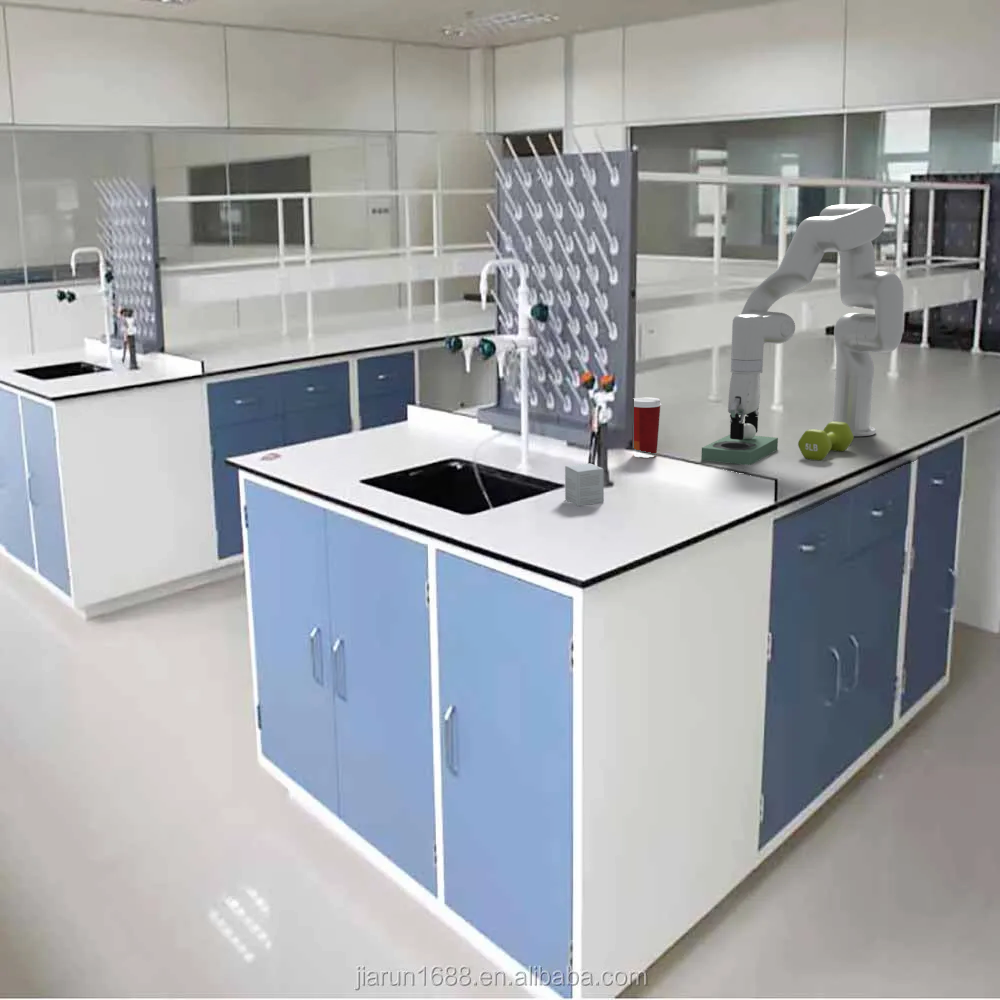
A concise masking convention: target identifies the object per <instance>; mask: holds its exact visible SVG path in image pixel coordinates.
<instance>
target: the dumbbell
mask: <svg viewBox="0 0 1000 1000" xmlns="http://www.w3.org/2000/svg"><path fill="white" fill-rule="evenodd" d="M854 439H855V436H853V433H852V431H851V429H850V427H849V425H848V424H847V423H844V422H837V421H833V420H832V421H829V422H828V423H827V424H826V426H825V427H824V429H815V428H814V429H812V428H811V429H807V430H805V431H804V432H803V434H802V435H801V437H800V438H799V440H798V443H797V444H798V445H797V446H798V448H799V450H800V452H801V455H802V457H803V458H805V459H806V460H810V459H811V461H822V460H824V459H825V458H826V457H827V455H828V454H829V453H830V451H832V452H833V451H834V452H845V451H846V450H848V449H849V447H850V445H851V444H852V442H853V440H854Z"/></svg>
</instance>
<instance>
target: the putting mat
mask: <svg viewBox="0 0 1000 1000" xmlns="http://www.w3.org/2000/svg"><path fill="white" fill-rule="evenodd" d="M778 444H779V438H778V437H773V436H760V435H755V436H754V437H753V438H752V439H748V440H747V439H744V438H743V439H742V440H736V439H731V438H730V434H728V435H726V436H724V437H721V438H719V439H717V440H716V441H713V442H711V443H709V444H706V445H704V446H703V447H701V456H700V457H701V461H707V462H716V463H727V464H735V465H744V466H751V465H752V464H754V463H756V462H758V461H760V460H761V459H763V458H765V457H767V456H768V455H770V454H773V453H775V451H778V449H779V448H778Z"/></svg>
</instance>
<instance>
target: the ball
mask: <svg viewBox="0 0 1000 1000" xmlns="http://www.w3.org/2000/svg"><path fill="white" fill-rule="evenodd" d="M756 434H757V433H756V429H755V427H754V426H753V425H752V424H749V423H746V424H745V423H744V437H743V438H744V439H747V440H748V439H752V438H753V437H754V436H756Z"/></svg>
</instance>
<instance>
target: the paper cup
mask: <svg viewBox="0 0 1000 1000" xmlns="http://www.w3.org/2000/svg"><path fill="white" fill-rule="evenodd" d="M633 399H634V449H636V450H641V451H646V452H651V453H657V451H658V442H659V441H658V439H659V429H660V428H659V427H660V417H661V406H663V404H662V403H661V399H660V398H658V397H645V396H644V397H634V398H633Z"/></svg>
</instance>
